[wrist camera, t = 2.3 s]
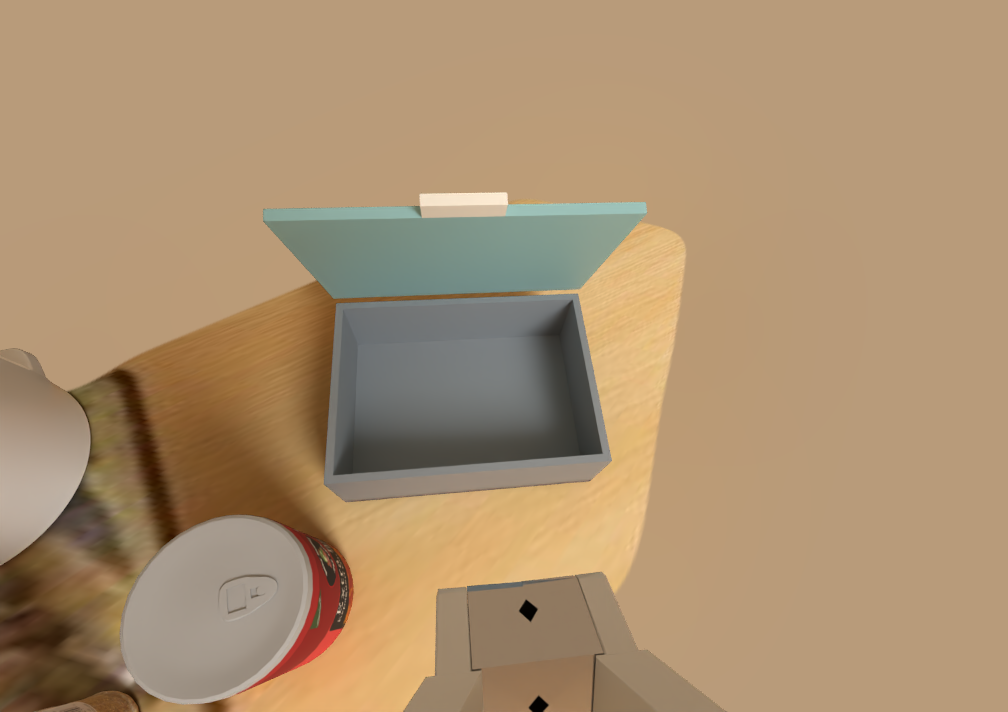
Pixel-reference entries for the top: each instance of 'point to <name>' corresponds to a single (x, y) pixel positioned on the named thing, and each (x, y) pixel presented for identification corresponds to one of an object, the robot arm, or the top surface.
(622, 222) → the mailer lid
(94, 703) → the sprinkles bottle
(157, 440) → the top surface
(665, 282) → the top surface
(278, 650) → the canned food
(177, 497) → the top surface
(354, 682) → the top surface
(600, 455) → the box
